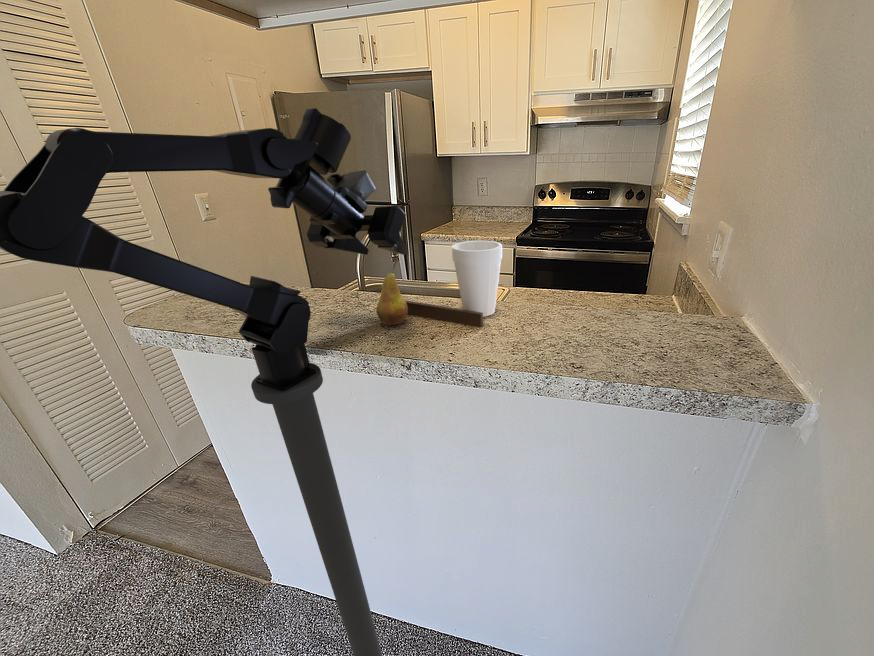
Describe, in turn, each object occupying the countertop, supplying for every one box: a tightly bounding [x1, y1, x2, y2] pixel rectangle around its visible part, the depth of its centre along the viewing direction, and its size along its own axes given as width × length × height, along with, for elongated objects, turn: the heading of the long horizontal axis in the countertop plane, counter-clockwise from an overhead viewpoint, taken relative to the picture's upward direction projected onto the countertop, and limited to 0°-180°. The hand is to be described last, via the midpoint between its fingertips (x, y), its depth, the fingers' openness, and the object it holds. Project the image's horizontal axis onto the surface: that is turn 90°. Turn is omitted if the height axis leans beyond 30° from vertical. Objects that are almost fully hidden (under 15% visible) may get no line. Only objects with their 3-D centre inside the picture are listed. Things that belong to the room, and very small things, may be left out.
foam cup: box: [451, 239, 503, 318], centre depth 78 cm, size 10×9×13 cm
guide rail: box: [404, 299, 484, 328], centre depth 78 cm, size 1×20×2 cm, turn 63°
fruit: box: [376, 257, 408, 326], centre depth 74 cm, size 6×6×12 cm
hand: (385, 252), depth 74 cm, fingers open, 9 cm apart
